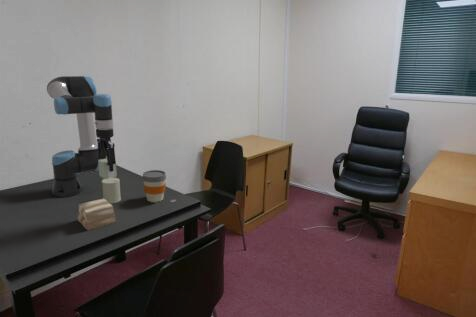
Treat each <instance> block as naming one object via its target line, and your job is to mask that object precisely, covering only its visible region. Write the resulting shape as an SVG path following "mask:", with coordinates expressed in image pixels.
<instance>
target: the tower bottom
mask: <svg viewBox="0 0 476 317" xmlns="http://www.w3.org/2000/svg"><path fill="white" fill-rule="evenodd" d="M76 213H77V221H78V222H79V223H80V224H81V225H82V226H83V227H84V228H85V229H86V231H91V229H92V230H95V229H98V228H97V227H99V228H102V227H105V226H104V225H106V226H108V224H109V225H112V224H115V223H114V222H116V219H117V218H116V214H115V213H114V215H113V216H109V217H105V218H101V219H97V220H94V221H90V222H87V221H86V220H85V218H84V217H83V216H82V215H81V214H80V213H79V212H76ZM111 223H112V224H111ZM116 223H117V222H116ZM101 226H102V227H101ZM94 228H95V229H94Z"/></svg>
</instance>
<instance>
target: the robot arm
mask: <svg viewBox="0 0 476 317" xmlns="http://www.w3.org/2000/svg"><path fill="white" fill-rule="evenodd" d="M96 87H97V86H96V84H95V81H94V80H93V78H92V77H91V76H85V75H84V76H83V75H82V76H81V75H80V76H79V75H78V76H77V75H75V76H71V75H70V76H69V75H68V76H65V75H64V76H63V75H61V76H58V77H55V78H53V79H51V80H50V81H49V82H48V84H47V85H46V92H47V94H48V95H49V97H51V99H53V108H54V111H55V114H56V115H65V116H66V115H75V114H76V121H77V130H78V136H79V137H78V138H79V145H80V146H79V148H78V149H77V151H78V152H75V151H74V150H62V151H59V152H57V153H55V154H54V155H52V157H51V161H52V162H51V164H52V171H53V172H52V173H53V178H54V180H53V181H54V182H53V185H52V190H51V192H52V195H53V196H54V197H56V198H57V197H58V198H59V197H60V198H64V197H65V198H67V197H72V196H76V195H79V194H80V193H82V191H83V190H82V184H81V183H80V180H79V178H78V174H84V173H91V172H96V171H99V166H98V160H101V159H106V158H107V162H108V164H106V165H107V171H108V178H112V177H113V178H115V177H114V167H113V164H116V165H117V160H116V153H115V152H116V150H115V143H112V139H111V138H113V137H114V134H115V133H114V121H113V120H114V119H113V108H112V107H113V106H112V103H113V101H112V98H111V95H110V94H106V93H97V88H96Z"/></svg>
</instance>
